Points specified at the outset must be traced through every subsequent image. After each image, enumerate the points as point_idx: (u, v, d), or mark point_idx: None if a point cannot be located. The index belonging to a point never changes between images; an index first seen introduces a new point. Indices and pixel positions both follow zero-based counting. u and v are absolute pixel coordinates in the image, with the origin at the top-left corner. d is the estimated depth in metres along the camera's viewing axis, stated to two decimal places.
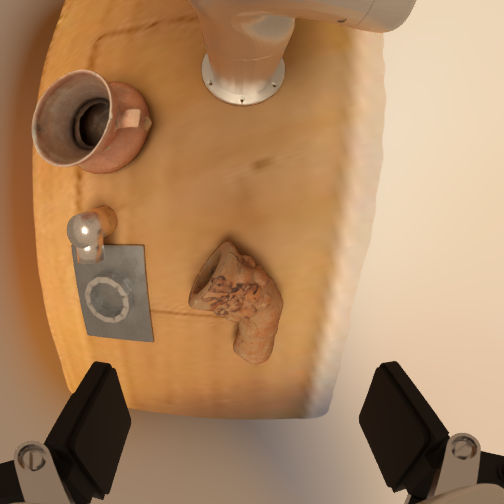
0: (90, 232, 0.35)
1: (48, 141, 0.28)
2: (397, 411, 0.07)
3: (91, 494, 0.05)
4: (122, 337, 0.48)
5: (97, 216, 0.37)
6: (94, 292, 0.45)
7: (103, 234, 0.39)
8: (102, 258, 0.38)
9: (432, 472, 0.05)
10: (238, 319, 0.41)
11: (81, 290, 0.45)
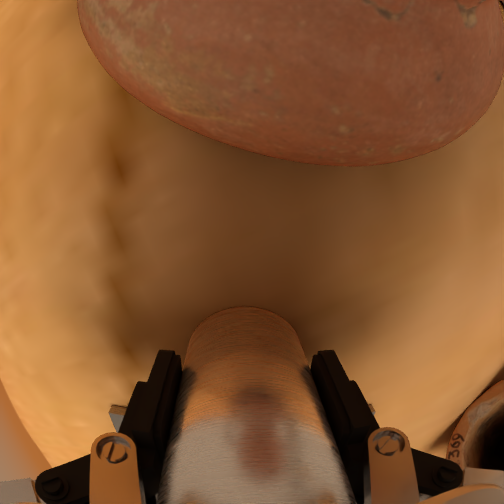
0: None
1: None
2: (325, 398, 0.08)
3: None
4: None
5: (326, 440, 0.06)
6: None
7: None
8: None
9: (354, 464, 0.06)
10: None
11: None
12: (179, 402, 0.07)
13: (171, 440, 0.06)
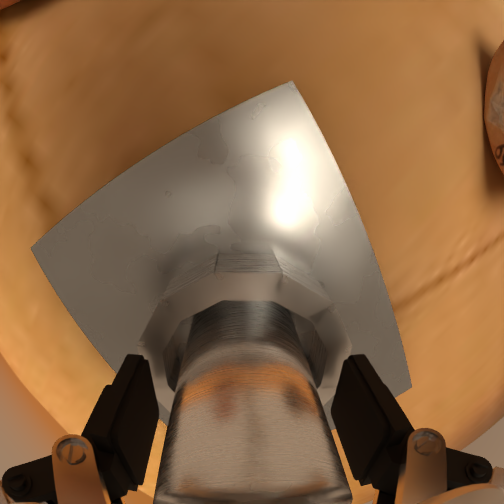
0: None
1: None
2: (361, 403, 0.08)
3: (127, 485, 0.06)
4: None
5: (316, 410, 0.07)
6: (179, 364, 0.13)
7: None
8: None
9: (393, 466, 0.05)
10: None
11: None
12: (181, 377, 0.08)
13: (174, 411, 0.07)
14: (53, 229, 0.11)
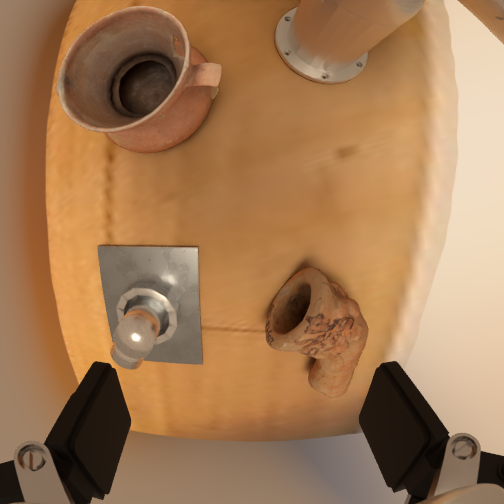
0: (145, 350, 0.30)
1: (79, 101, 0.20)
2: (397, 411, 0.07)
3: (91, 494, 0.05)
4: (162, 359, 0.40)
5: (155, 328, 0.32)
6: (128, 306, 0.37)
7: None
8: (140, 364, 0.33)
9: (432, 472, 0.05)
10: (327, 356, 0.33)
11: (109, 303, 0.37)
12: (131, 308, 0.33)
13: (127, 313, 0.32)
14: (109, 247, 0.35)
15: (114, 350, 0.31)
